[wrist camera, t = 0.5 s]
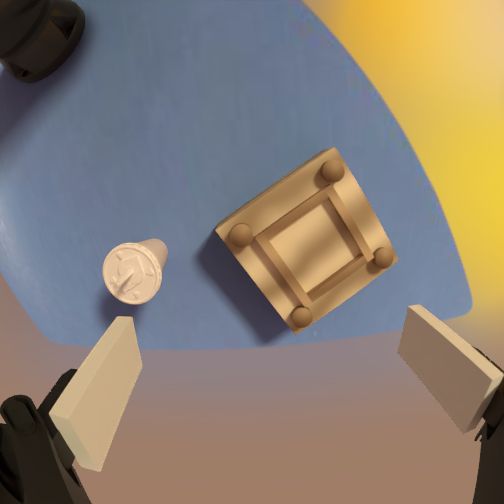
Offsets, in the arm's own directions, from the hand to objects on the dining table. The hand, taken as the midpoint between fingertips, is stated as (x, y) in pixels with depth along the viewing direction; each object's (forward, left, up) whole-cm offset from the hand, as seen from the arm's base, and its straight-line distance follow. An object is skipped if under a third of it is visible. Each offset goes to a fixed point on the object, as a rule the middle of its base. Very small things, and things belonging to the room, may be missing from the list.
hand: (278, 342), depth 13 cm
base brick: (+4, +6, -25) cm, 26 cm away
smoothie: (-6, -11, -25) cm, 28 cm away
